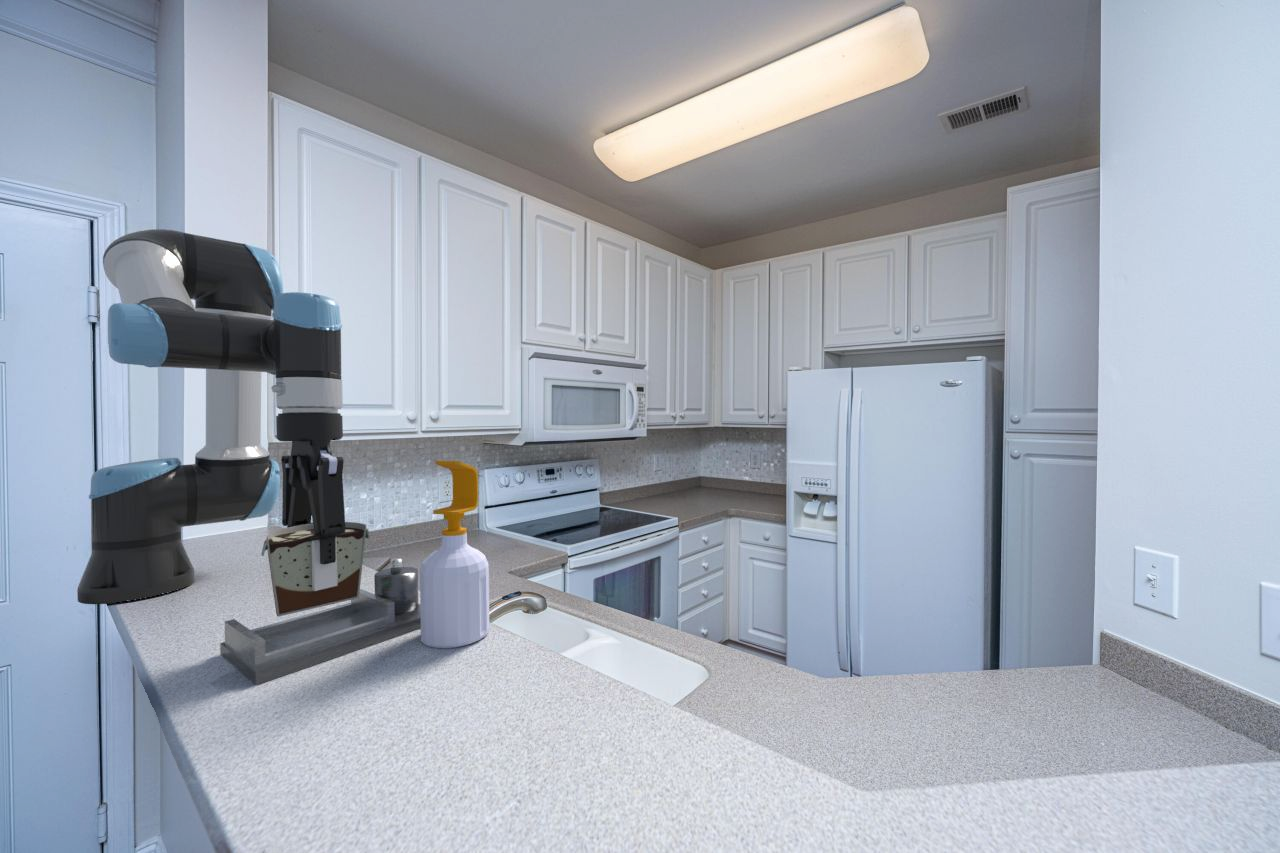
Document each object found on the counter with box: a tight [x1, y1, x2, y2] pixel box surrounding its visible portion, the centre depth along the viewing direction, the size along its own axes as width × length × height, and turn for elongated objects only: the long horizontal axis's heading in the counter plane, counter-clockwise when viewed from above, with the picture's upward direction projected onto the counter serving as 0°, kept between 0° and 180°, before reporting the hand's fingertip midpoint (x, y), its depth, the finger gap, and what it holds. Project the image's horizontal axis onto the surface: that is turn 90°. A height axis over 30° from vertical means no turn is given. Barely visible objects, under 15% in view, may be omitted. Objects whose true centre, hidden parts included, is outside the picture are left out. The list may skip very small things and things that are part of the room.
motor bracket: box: [219, 557, 421, 686], centre depth 72 cm, size 13×23×9 cm, turn 143°
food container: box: [261, 521, 371, 618], centre depth 70 cm, size 12×6×10 cm, turn 136°
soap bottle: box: [419, 460, 491, 649], centre depth 72 cm, size 9×9×25 cm
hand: (313, 582), depth 70 cm, fingers closed on food container, 6 cm apart
